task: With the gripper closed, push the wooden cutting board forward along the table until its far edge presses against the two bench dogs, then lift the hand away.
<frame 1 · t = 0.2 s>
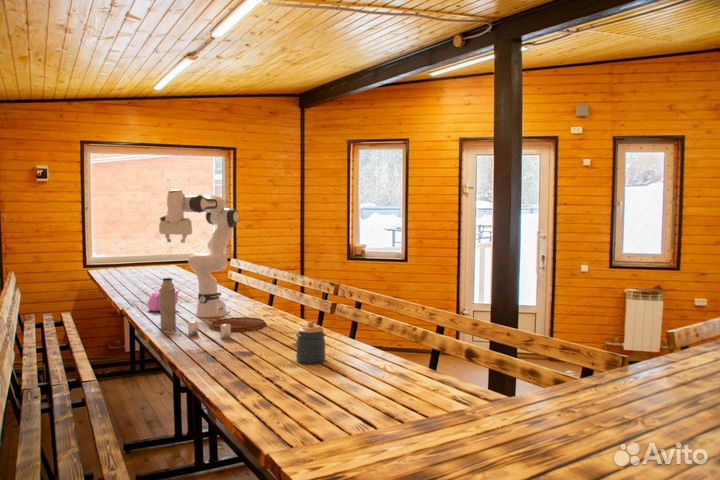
hand: (176, 242, 317), 48 cm above the table, tool pointing down, fingers open, 8 cm apart
thermos bottle: (168, 328, 313), on the table
teapot: (164, 310, 367), on the table
cutting board: (238, 327, 318), on the table
canister: (310, 361, 247), on the table
bench dogs: (209, 336, 292), on the table
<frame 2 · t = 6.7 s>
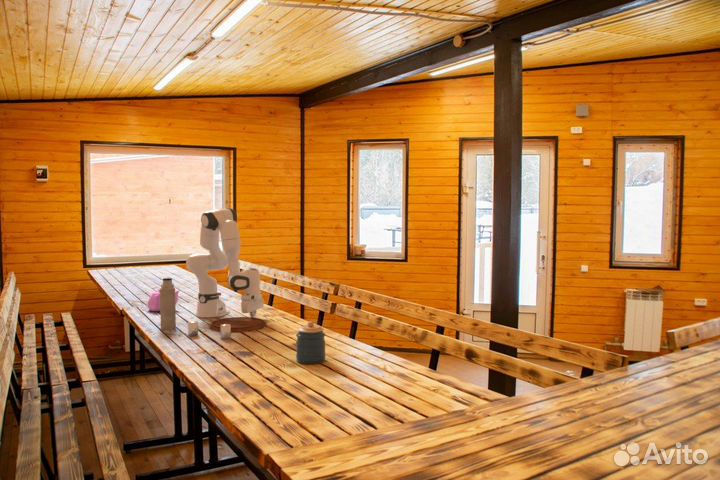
hand: (253, 317, 333), 2 cm above the table, tool pointing down, fingers closed
cutting board: (238, 326, 318), on the table, touching gripper
everything else where it was.
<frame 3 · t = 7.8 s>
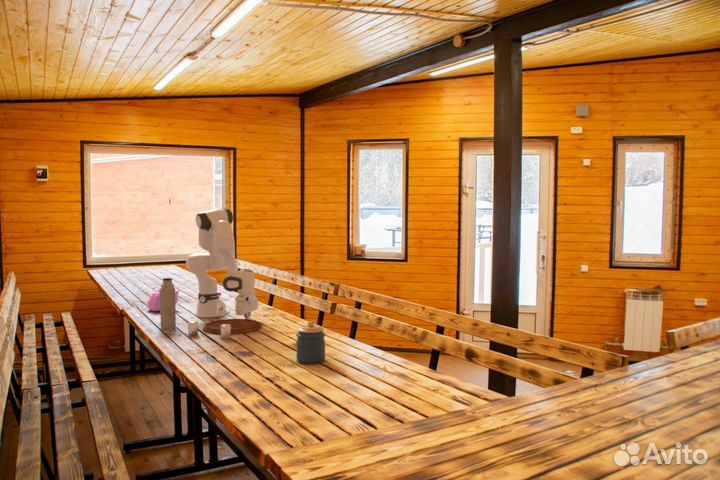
hand: (247, 319, 327), 2 cm above the table, tool pointing down, fingers closed
cutting board: (232, 329, 312), on the table, touching gripper
everything else where it was.
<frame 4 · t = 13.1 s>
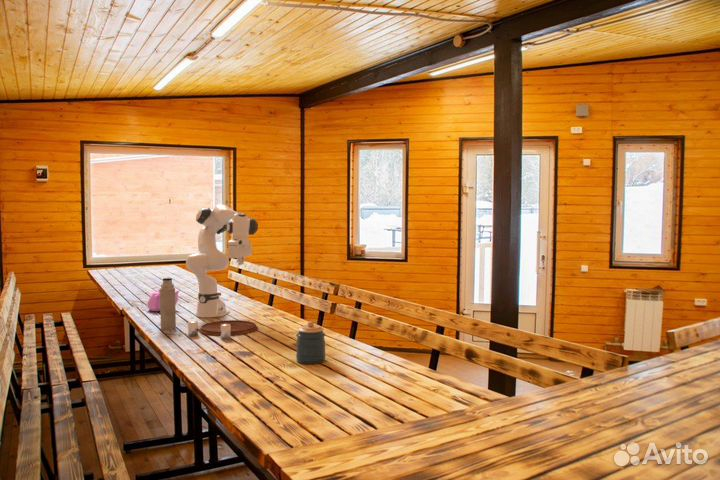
hand: (241, 264, 327), 34 cm above the table, tool pointing down, fingers closed
cutting board: (228, 330, 309), on the table
everything else where it was.
at the end: cutting board inside the target area (0.3 cm from its centre), on the table; the gripper is holding nothing; thermos bottle moved 0.2 cm from its start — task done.
